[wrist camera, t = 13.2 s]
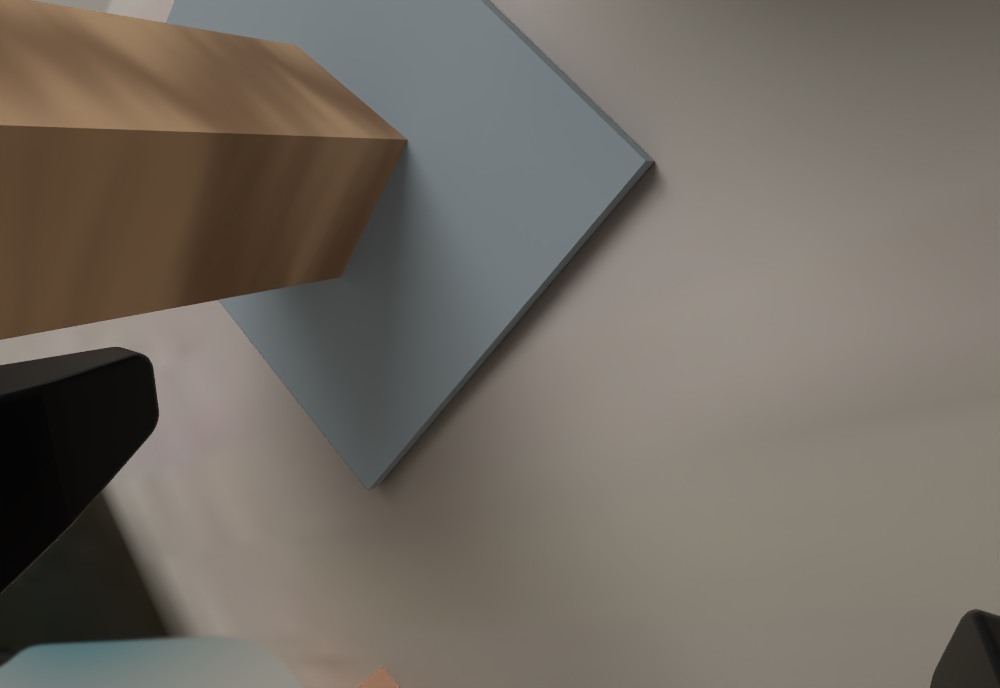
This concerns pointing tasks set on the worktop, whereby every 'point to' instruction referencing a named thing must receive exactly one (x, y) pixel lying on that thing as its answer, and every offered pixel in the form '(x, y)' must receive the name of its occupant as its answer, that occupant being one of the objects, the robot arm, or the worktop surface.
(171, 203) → the walnut brick
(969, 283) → the worktop surface
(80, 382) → the robot arm
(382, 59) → the slate mat
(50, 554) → the worktop surface
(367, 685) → the terracotta brick
